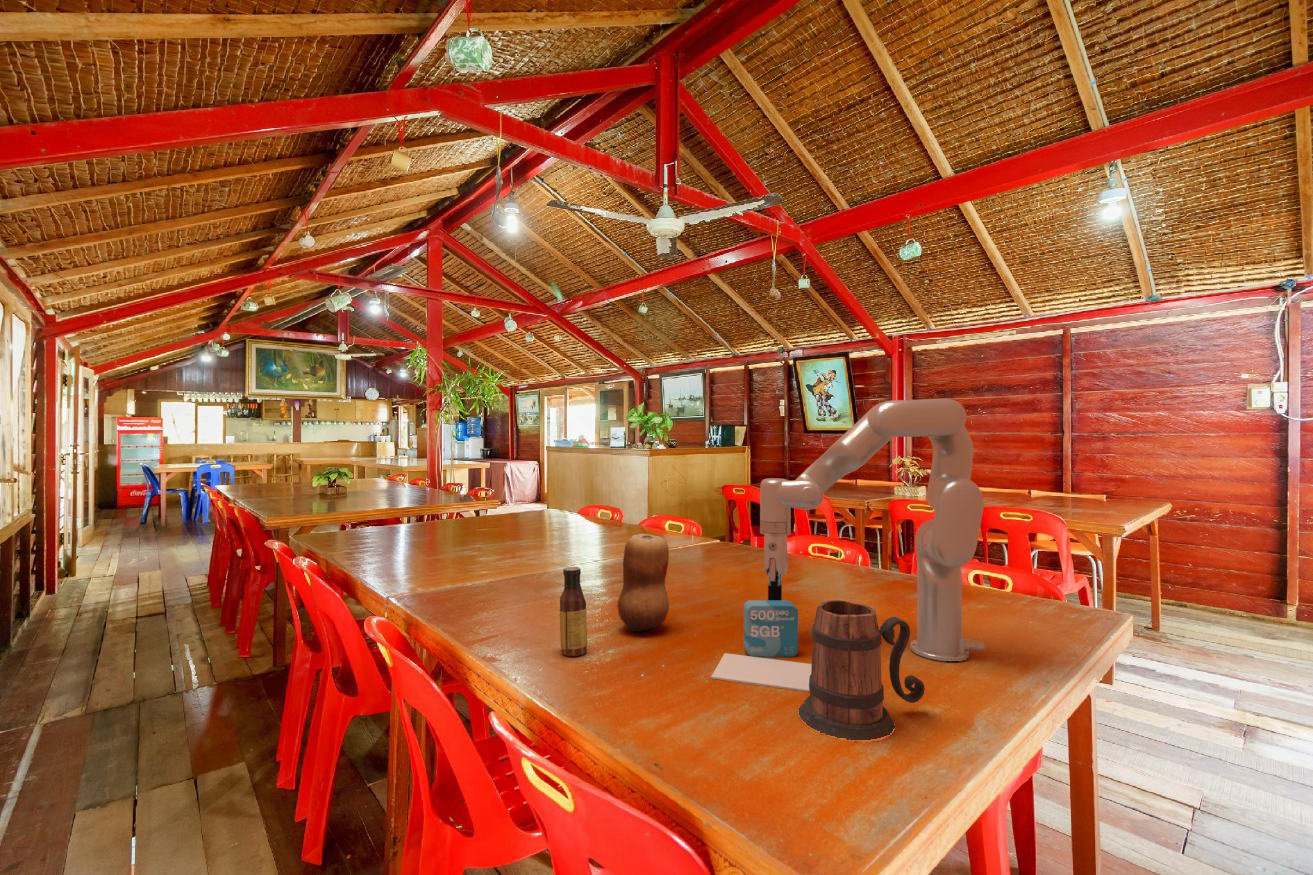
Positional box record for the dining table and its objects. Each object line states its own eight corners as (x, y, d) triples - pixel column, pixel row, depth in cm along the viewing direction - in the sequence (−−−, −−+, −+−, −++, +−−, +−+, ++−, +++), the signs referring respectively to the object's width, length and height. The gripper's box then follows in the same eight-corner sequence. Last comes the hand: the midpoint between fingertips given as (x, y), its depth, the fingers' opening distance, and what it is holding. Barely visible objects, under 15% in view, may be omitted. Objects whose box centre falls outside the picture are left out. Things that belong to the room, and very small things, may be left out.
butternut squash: (663, 640, 143) (663, 540, 143) (611, 636, 145) (612, 538, 145) (672, 623, 156) (673, 532, 156) (625, 619, 159) (626, 530, 159)
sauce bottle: (592, 650, 135) (592, 567, 135) (577, 659, 130) (578, 572, 130) (569, 646, 138) (569, 564, 138) (553, 654, 132) (554, 569, 133)
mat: (813, 666, 127) (813, 664, 127) (809, 692, 114) (809, 690, 114) (724, 654, 133) (724, 653, 133) (711, 678, 120) (711, 676, 120)
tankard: (822, 746, 94) (822, 624, 94) (783, 700, 110) (784, 596, 110) (951, 735, 97) (952, 618, 97) (895, 692, 114) (895, 592, 114)
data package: (746, 657, 132) (746, 605, 132) (743, 650, 136) (743, 599, 137) (798, 657, 132) (798, 605, 132) (793, 650, 137) (793, 600, 137)
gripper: (787, 533, 134) (787, 610, 134) (793, 524, 149) (792, 594, 149) (755, 531, 137) (755, 607, 137) (764, 522, 151) (763, 592, 151)
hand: (774, 600), depth 143 cm, fingers closed
